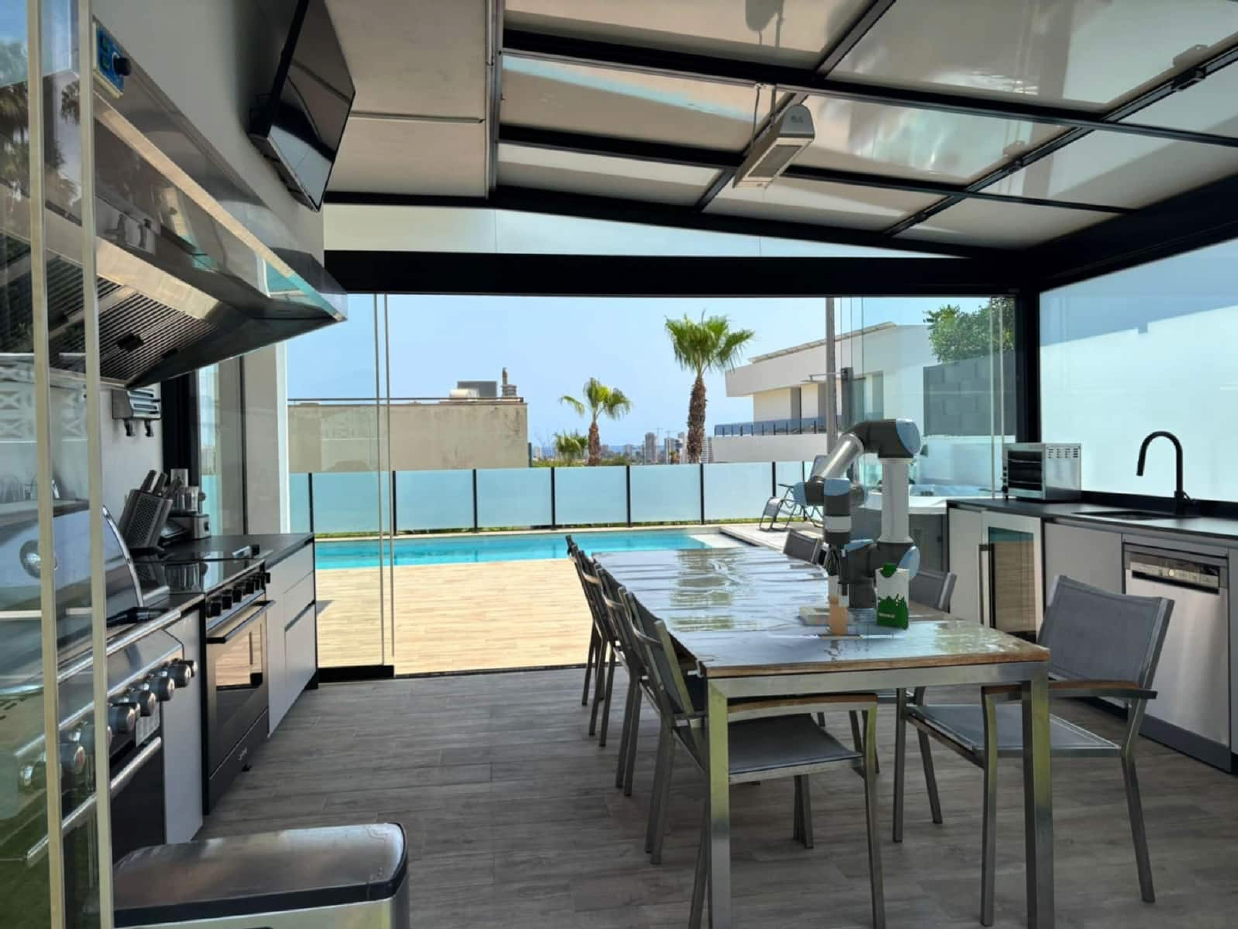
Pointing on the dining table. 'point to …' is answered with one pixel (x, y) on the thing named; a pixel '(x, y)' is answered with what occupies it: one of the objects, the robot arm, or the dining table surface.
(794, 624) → the dining table surface
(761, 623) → the dining table surface
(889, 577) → the milk carton
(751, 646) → the dining table surface
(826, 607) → the housing
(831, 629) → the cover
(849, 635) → the mat
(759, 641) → the dining table surface
